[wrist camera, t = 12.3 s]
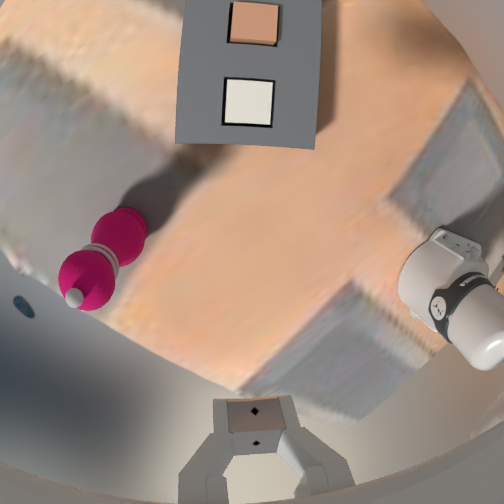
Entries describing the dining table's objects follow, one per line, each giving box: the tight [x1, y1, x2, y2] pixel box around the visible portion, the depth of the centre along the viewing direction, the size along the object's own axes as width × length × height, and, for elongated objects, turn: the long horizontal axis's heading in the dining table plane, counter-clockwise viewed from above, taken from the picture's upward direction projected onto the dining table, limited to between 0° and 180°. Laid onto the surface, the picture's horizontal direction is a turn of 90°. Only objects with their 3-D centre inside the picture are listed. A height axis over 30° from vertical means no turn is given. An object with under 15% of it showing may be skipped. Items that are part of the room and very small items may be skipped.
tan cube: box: [229, 2, 278, 47], centre depth 28 cm, size 5×5×5 cm
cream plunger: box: [224, 80, 273, 125], centre depth 33 cm, size 5×5×5 cm
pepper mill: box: [58, 207, 147, 311], centre depth 31 cm, size 7×7×20 cm
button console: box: [175, 0, 322, 150], centre depth 31 cm, size 16×20×6 cm
